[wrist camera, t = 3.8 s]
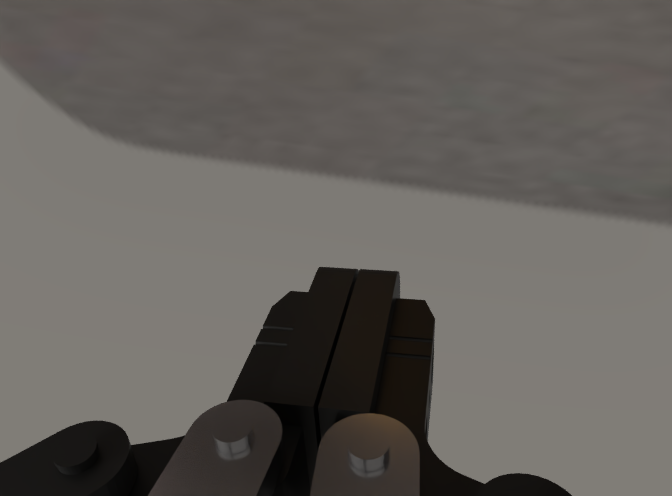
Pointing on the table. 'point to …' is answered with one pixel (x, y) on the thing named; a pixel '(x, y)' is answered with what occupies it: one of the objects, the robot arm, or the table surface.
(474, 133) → the table surface
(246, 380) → the robot arm
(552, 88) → the table surface
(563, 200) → the table surface
